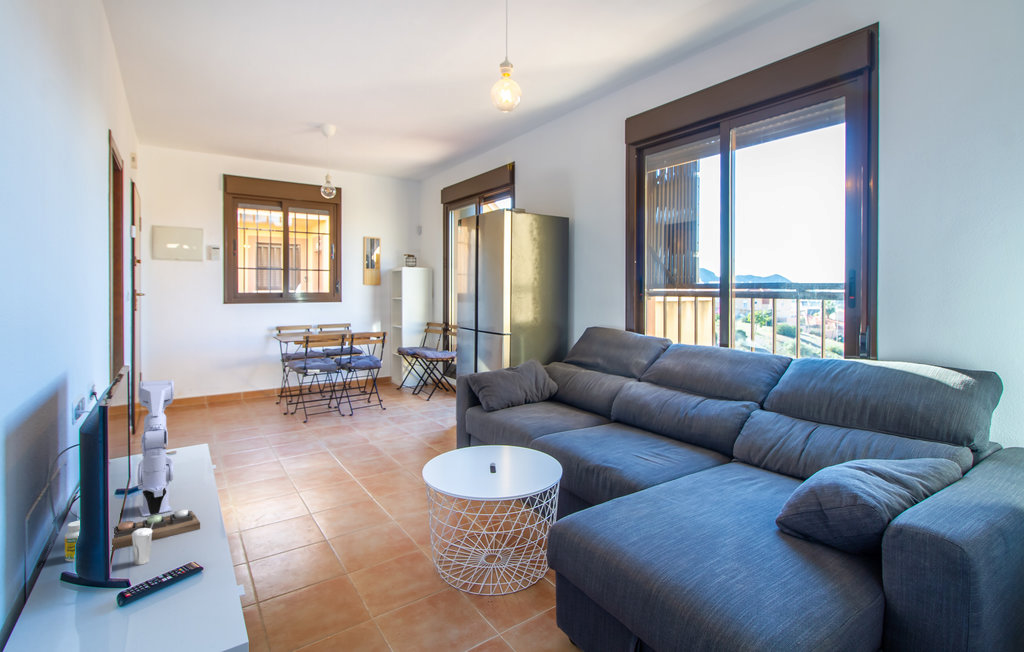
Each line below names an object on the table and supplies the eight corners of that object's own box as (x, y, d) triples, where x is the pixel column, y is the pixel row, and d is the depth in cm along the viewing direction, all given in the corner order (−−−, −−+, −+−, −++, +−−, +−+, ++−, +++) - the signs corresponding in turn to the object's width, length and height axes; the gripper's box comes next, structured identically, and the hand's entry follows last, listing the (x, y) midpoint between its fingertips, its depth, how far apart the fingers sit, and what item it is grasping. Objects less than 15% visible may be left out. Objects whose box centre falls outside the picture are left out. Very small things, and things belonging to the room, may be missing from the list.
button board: (106, 535, 151) (106, 524, 151) (191, 516, 166) (191, 506, 166) (110, 550, 142) (110, 538, 142) (200, 528, 157) (200, 517, 157)
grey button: (173, 516, 159) (173, 511, 159) (186, 513, 161) (186, 508, 161) (175, 519, 156) (175, 514, 156) (189, 516, 158) (189, 511, 158)
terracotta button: (117, 528, 149) (117, 523, 149) (132, 525, 151) (132, 519, 151) (118, 532, 146) (118, 527, 146) (134, 529, 149) (134, 523, 149)
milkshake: (159, 558, 138) (159, 522, 138) (139, 567, 133) (139, 530, 133) (147, 555, 140) (147, 520, 140) (127, 564, 135) (127, 527, 134)
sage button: (146, 522, 154) (146, 516, 154) (160, 518, 156) (160, 513, 156) (148, 525, 151) (148, 520, 151) (162, 522, 154) (162, 517, 154)
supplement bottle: (91, 550, 142) (91, 517, 141) (88, 559, 137) (88, 524, 137) (66, 555, 139) (66, 521, 138) (62, 564, 134) (62, 528, 134)
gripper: (135, 466, 156) (134, 509, 156) (142, 478, 145) (141, 524, 146) (162, 461, 161) (162, 503, 161) (171, 473, 150) (170, 518, 150)
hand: (154, 513), depth 154 cm, fingers closed
